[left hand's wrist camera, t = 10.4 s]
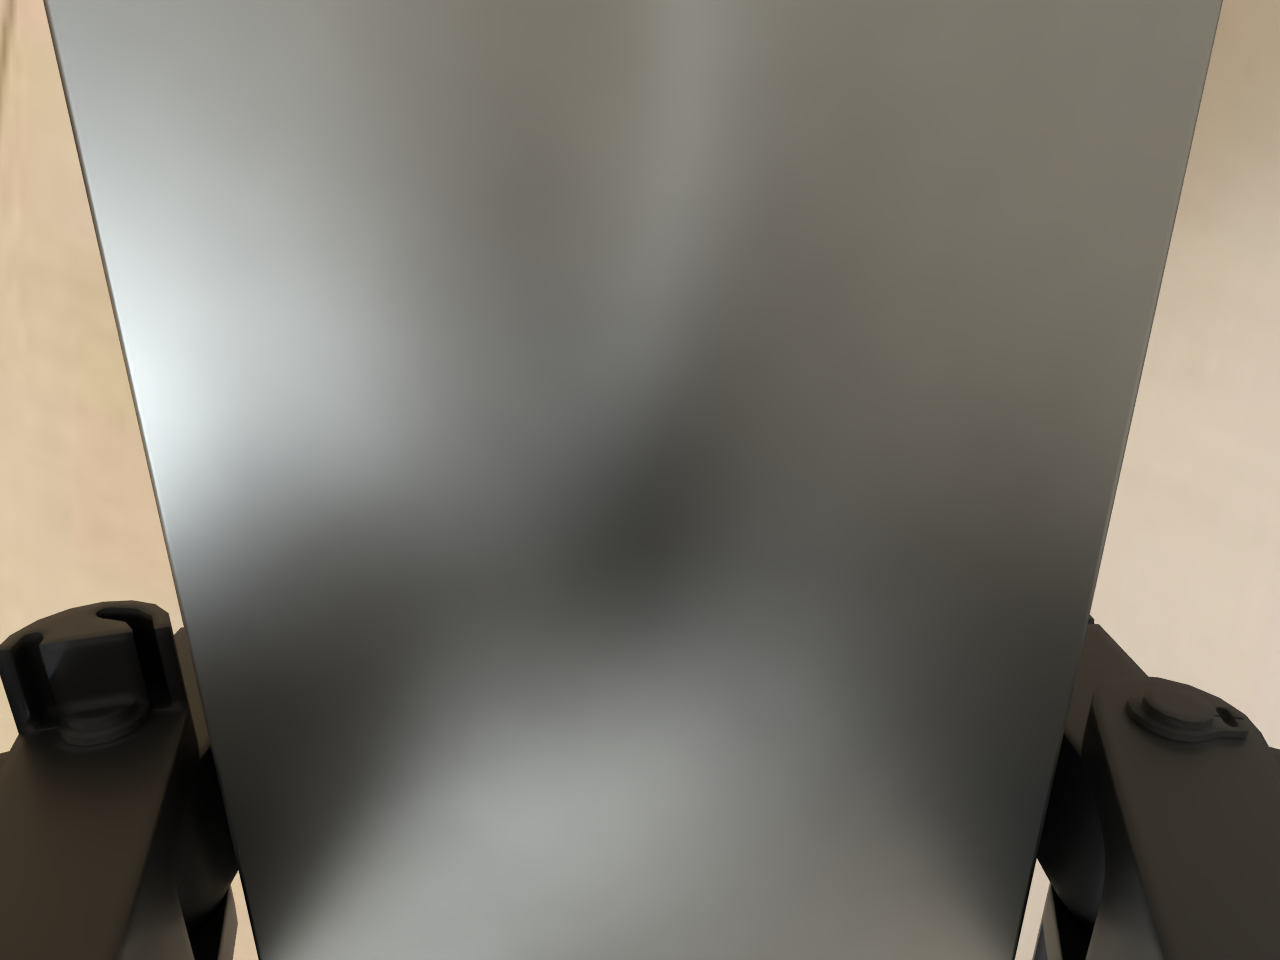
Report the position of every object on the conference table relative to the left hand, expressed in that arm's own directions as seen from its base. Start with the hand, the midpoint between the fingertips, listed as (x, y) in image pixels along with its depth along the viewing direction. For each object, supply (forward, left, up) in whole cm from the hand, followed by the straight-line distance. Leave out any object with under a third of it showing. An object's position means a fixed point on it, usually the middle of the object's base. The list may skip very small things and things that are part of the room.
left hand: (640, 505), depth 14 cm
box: (+7, -4, -1) cm, 8 cm away
